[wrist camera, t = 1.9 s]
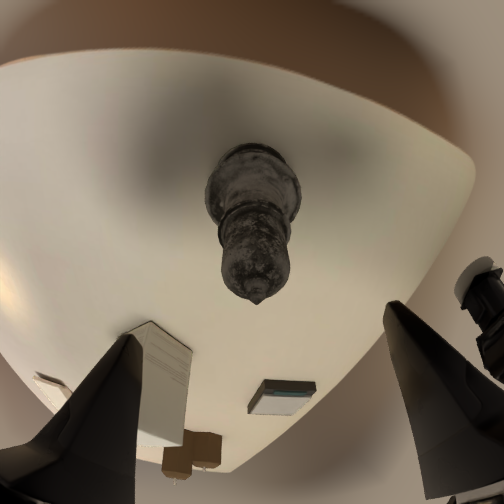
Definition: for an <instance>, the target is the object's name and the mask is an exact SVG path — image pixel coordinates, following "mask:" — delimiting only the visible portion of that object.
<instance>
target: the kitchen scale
mask: <svg viewBox="0 0 504 504" xmlns="http://www.w3.org/2000/svg"><path fill="white" fill-rule="evenodd" d="M315 392H316V384H315V382H295V381H277V380H264V381H263V383H262V385H261V386H260V388H259V389H258V391H257V392H256V394H255V396H254V397H253V399H252V400H251V402H250V403H249V405H248V414H260V415H294V414H295V413H296V412H297V411H299V410H300V409H301V408H302V407H303V406H304V405H305V404H306V403H307V402H308V401H309V400H310V399H311V398H312V395H313V394H314V393H315Z"/></svg>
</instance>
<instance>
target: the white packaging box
mask: <svg viewBox="0 0 504 504" xmlns="http://www.w3.org/2000/svg"><path fill="white" fill-rule="evenodd" d="M129 333H131V334H133V335H134V336H135V337H136V338H137V340H138V341H139V342H140V344H141V345H142V347H143V379H142V394H141V402H140V411H139V422H138V433H137V445H139V446H142V447H173V446H183V433H184V422H185V412H186V403H187V394H188V385H189V377H190V368H191V360H192V351H191V350H189V349H188V348H186V347H185V346H183V345H182V344H181V343H179V342H178V341H176V340H175V339H173V338H172V337H171V336H169V335H168V334H167V333H165V332H164V331H163V330H161V329H160V328H159V327H157V326H156V325H155V324H153V323H152V322H149V323H147V324H144V325H142V326H140V327H138V328H136V329H134V330H132V331H130V332H128V333H126V334H129ZM118 338H119V337H118ZM118 338H117V339H118ZM116 341H117V340H116Z"/></svg>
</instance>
